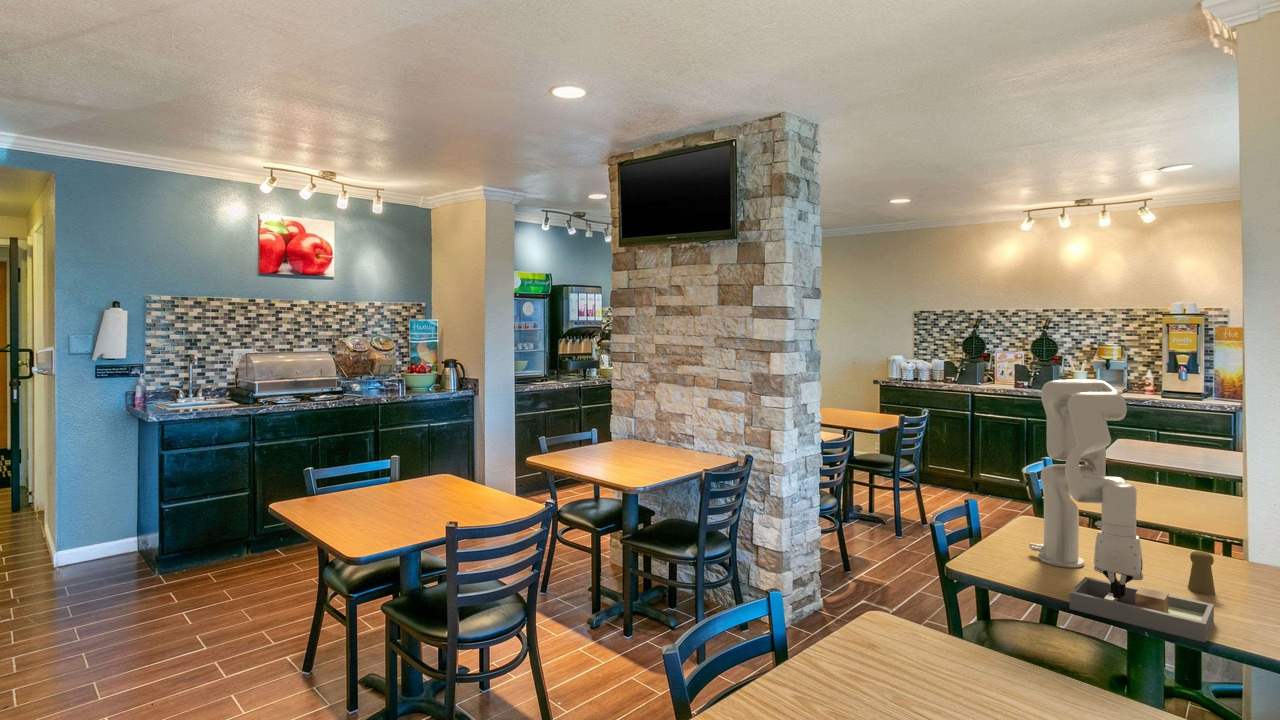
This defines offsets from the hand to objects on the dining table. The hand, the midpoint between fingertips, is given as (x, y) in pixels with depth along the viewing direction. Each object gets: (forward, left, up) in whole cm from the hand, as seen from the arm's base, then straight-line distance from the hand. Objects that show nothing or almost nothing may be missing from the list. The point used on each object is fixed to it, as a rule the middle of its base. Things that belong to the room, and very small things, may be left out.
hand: (1117, 596), depth 177 cm
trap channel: (+5, 0, -4) cm, 6 cm away
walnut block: (+7, 0, -2) cm, 7 cm away
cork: (+14, +32, -4) cm, 35 cm away
